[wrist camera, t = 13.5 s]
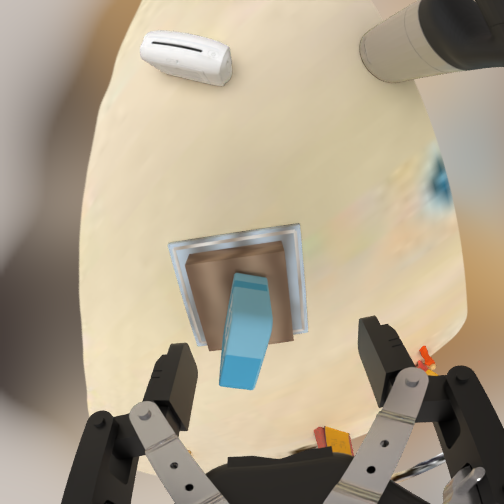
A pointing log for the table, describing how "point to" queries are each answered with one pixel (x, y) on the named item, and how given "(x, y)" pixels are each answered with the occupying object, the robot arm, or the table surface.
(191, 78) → the photo printer
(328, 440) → the toy building block set
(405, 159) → the table surface
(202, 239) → the base
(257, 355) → the data package
